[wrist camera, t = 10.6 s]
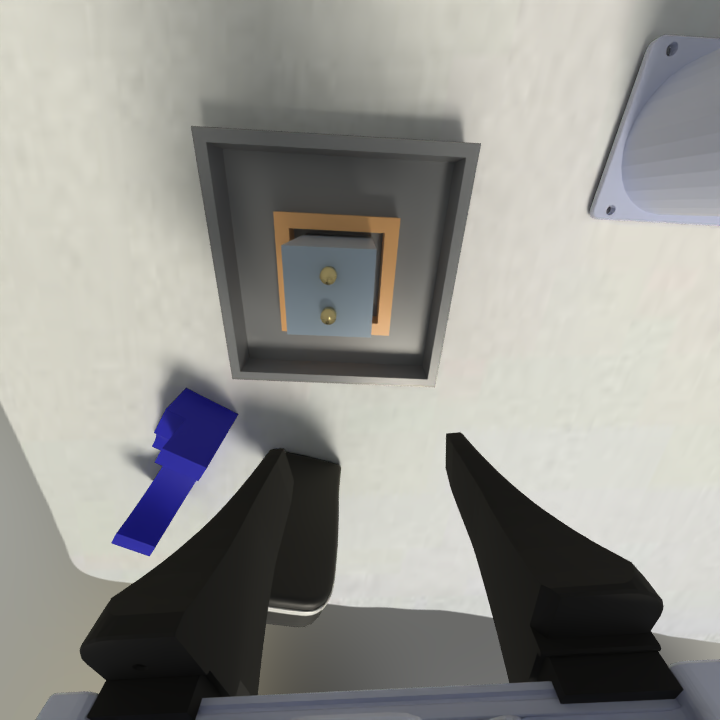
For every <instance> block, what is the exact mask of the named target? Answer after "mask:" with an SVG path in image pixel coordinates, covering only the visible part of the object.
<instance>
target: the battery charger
mask: <svg viewBox="0 0 720 720" xmlns="http://www.w3.org/2000/svg"><path fill="white" fill-rule="evenodd" d="M285 453H286V452H285ZM286 456H287V459H288V463H289V466H290V469H291V472H292V476H293V479H294V485H293V493H292V500H291V506H290V510H289V513H288V517H287V521H286V525H285V529H284V533H283V536H282V540H281V544H280V548H279V552H278V555H277V560H276V564H275V569H274V575H273V581H272V587H271V593H270V600H269V606H268V613H267V620H266V624H273V625H283V626H291V627H305V626H307V625H309V624H312V623H313V622H314V621H315V620H316V619H317V618H318V617H319V615H320V613H321V611H322V609H324V607H325V606H326V605H327V603H328V601H329V599H330V597H331V595H332V591H333V587H334V581H335V571H336V561H337V547H338V522H339V485H340V476H341V466H340V465H338V464H334V463H330V462H327V461H323V460H319V459H314V458H310V457H306V456H301V455H296V454H291V453H286ZM328 597H329V598H328Z"/></svg>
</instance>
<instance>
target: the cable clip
mask: <svg viewBox="0 0 720 720" xmlns="http://www.w3.org/2000/svg"><path fill="white" fill-rule="evenodd" d="M237 416H238V414H237V413H235V412H233V411H231V410H229V409H227V408H225V407H223V406H221V405H219V404H217V403H215V402H213V401H211V400H209V399H207V398H205V397H203V396H201V395H199V394H197V393H195V392H193V391H191V390H189V389H187V388H186V389H185V390H184V391H183V392H182V393H181V394H180V395H179V396H178V397H177V398H176V399H175V400H174V401H173V402H172V403H171V404H170V405H169V406H168V407H167V408H166V410H165V412H164V414H163V416H162V418H161V420H160V422H159V424H158V426H157V428H156V430H155V432H154V433H156V439H155V441H154V443H153V445H152V447H154V448H156V449H159V450H161V451H160V453H159V455H158V457H157V459H156V460H155V463H157V464H159V465H162V468H161V470H160V471H159V473H158V474H157V476H156V478H155V479H154V481H153V482H152V484H151V485H150V487H149V488H148V490H147V491H146V493H145V494H144V496H143V497H142V498H141V500H140V501H139V503H138V504H137V506H136V507H135V508H134V510H133V511H132V513H131V514H130V516H129V517H128V518H127V520H126V521H125V522H124V524H123V525H122V527H121V528H120V529H119V531H118V532H117V533H116V535H115V537H114V539H113V541H112V544H115V545H118V546H121V547H124V548H127V549H130V550H132V551H135V552H138V553H141V554H144V555H147V556H150V555H151V553H152V552H153V550H154V549H155V547H156V545H157V544H158V542H159V540H160V539H161V537H162V535H163V534H164V532H165V530H166V529H167V527H168V526H169V524H170V522H171V521H172V519H173V517H174V516H175V514H176V512H177V511H178V509H179V508H180V506H181V504H182V503H183V501H184V500H185V498H186V496H187V495H188V493H189V491H190V490H191V488H192V487H193V485H194V483H195V482H196V480H197V481H199V479H200V478H201V476H202V475H203V473H204V471H205V470H206V468H207V467H208V465H209V463H210V462H211V460H212V458H213V457H214V455H215V453H216V451H217V450H218V448H219V446H220V445H221V443H222V441H223V440H224V438H225V436H226V434H227V433H228V431H229V429H230V428H231V426H232V424H233V423H234V421H235V419H236V417H237Z"/></svg>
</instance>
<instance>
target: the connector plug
mask: <svg viewBox="0 0 720 720" xmlns="http://www.w3.org/2000/svg"><path fill="white" fill-rule="evenodd" d="M281 252H282V266H283V280H284V295H285V309H286V323H287V334H292V335H317V336H342V337H367V338H371V329H372V314H373V298H374V283H375V267H376V252H377V249H376V247H375V244H374V242H373V239H372V237H371V236H353V235H331V234H310V233H305V234H303V235H301V236H299V237H297V238H295V239H293V240H291V241H289V242H287V243H285V244H283V245H281Z"/></svg>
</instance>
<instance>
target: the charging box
mask: <svg viewBox="0 0 720 720" xmlns="http://www.w3.org/2000/svg"><path fill="white" fill-rule="evenodd" d="M191 130H192V136H193V142H194V148H195V154H196V160H197V166H198V172H199V178H200V184H201V190H202V197H203V203H204V209H205V215H206V221H207V227H208V233H209V239H210V245H211V251H212V257H213V263H214V270H215V276H216V282H217V288H218V294H219V300H220V306H221V312H222V318H223V324H224V330H225V337H226V343H227V349H228V355H229V361H230V367H231V373H232V379H244V380H269V381H293V382H317V383H342V384H366V385H391V386H415V387H435V384H436V379H437V374H438V369H439V363H440V358H441V353H442V347H443V342H444V337H445V331H446V326H447V321H448V316H449V310H450V305H451V300H452V294H453V289H454V284H455V279H456V273H457V268H458V263H459V257H460V252H461V247H462V242H463V236H464V231H465V226H466V220H467V215H468V210H469V205H470V199H471V194H472V189H473V183H474V178H475V173H476V167H477V162H478V157H479V152H480V146H481V143H465V142H448V141H432V140H415V139H398V138H382V137H365V136H349V135H332V134H315V133H299V132H282V131H266V130H249V129H232V128H216V127H199V126H191ZM305 233H310V234H331V235H353V236H371V237H372V239H373V242H374V244H375V247H376V249H377V252H376V267H375V283H374V298H373V314H372V329H371V338H367V337H342V336H317V335H292V334H287V323H286V309H285V295H284V280H283V266H282V252H281V245H283V244H285V243H287V242H289V241H291V240H293V239H295V238H297V237H299V236H301V235H303V234H305Z"/></svg>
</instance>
